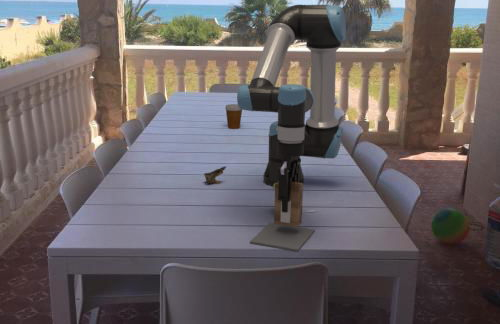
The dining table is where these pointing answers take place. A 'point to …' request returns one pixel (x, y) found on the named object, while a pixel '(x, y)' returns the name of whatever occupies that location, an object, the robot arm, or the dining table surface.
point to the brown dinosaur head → (214, 175)
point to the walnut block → (296, 205)
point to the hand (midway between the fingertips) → (288, 219)
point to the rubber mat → (283, 237)
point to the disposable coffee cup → (233, 116)
